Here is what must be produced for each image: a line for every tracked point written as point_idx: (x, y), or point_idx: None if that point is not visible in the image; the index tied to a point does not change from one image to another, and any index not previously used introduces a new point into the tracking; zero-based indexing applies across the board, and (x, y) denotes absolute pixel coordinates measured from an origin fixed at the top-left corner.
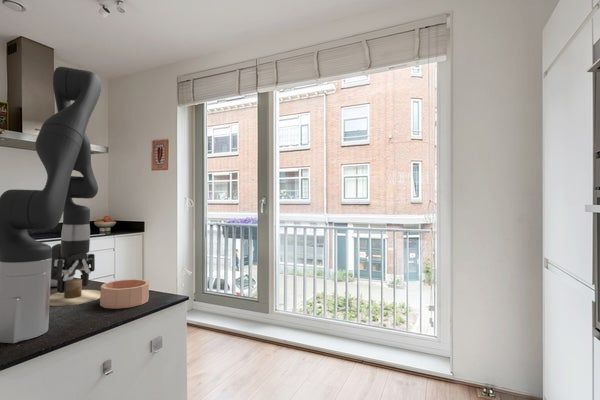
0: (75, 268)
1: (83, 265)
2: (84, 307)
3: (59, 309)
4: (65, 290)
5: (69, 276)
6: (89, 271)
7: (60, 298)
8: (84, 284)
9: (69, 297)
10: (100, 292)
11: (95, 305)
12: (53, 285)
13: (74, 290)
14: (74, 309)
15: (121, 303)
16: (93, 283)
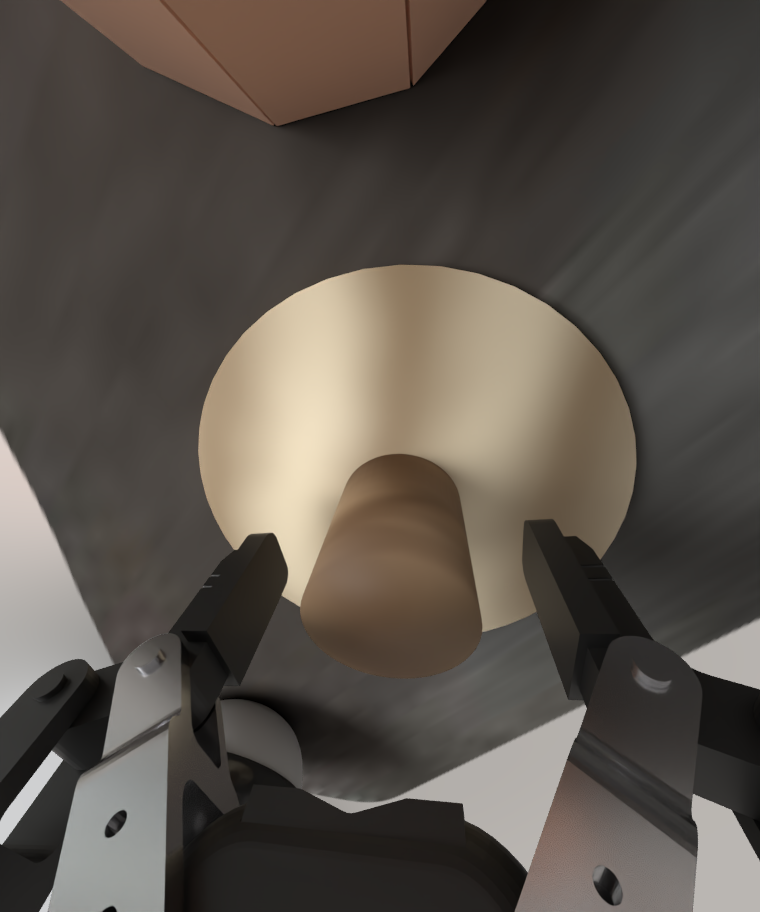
0: (402, 875)
1: (168, 903)
2: (664, 87)
3: (741, 318)
4: (540, 529)
5: None
6: (131, 674)
7: (477, 536)
8: (270, 554)
9: (456, 489)
10: None
11: (561, 12)
12: (285, 722)
13: (438, 500)
14: (756, 139)
15: None
16: (121, 625)
